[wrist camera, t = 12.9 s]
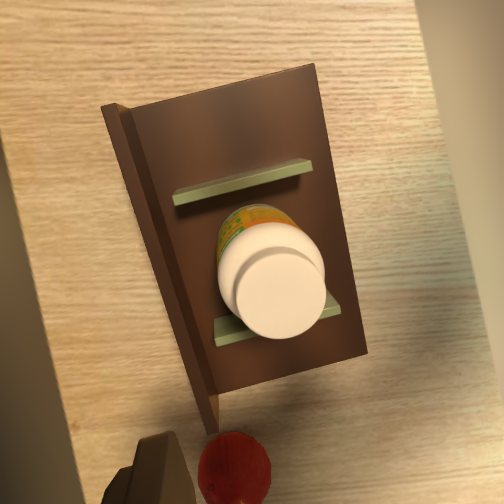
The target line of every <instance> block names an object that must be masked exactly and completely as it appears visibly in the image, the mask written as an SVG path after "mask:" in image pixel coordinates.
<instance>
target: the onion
mask: <svg viewBox="0 0 504 504" xmlns="http://www.w3.org/2000/svg"><path fill="white" fill-rule="evenodd" d="M270 484H271V463H270V460H269V457H268V455H267V453H266V451H265V448H264V447H263V446H262V445H261V444H260V443H259V442H258V441H256V440H255V439H254V438H253V437H251V436H249V435H246V434H243V433H236V432H229V433H226V434H222V435H219V436H218V437H216V438H215V439H214V440H212V441H211V442H210V443H209V444H208V446H207V447H206V448H205V450H204V452H203V454H202V455H201V457H200V461H199V465H198V485H199V488H200V490H201V493H202V495H203V497H204V499H205V501H206V503H207V504H261V503H262V502H263V500H264V498H265V496H266V494H267V492H268V490H269V488H270Z"/></svg>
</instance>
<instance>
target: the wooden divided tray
mask: <svg viewBox="0 0 504 504" xmlns="http://www.w3.org/2000/svg"><path fill="white" fill-rule="evenodd" d="M101 111H102V114H103V117H104V120H105V123H106V126H107V129H108V132H109V135H110V138H111V141H112V145H113V148H114V151H115V154H116V157H117V160H118V163H119V166H120V169H121V172H122V175H123V178H124V181H125V184H126V187H127V191H128V194H129V197H130V200H131V203H132V206H133V209H134V212H135V215H136V218H137V221H138V224H139V227H140V230H141V233H142V236H143V240H144V243H145V246H146V249H147V252H148V255H149V258H150V261H151V264H152V267H153V270H154V273H155V276H156V279H157V282H158V286H159V289H160V292H161V295H162V298H163V301H164V304H165V307H166V310H167V313H168V316H169V319H170V322H171V325H172V328H173V331H174V335H175V338H176V341H177V344H178V347H179V350H180V353H181V356H182V359H183V362H184V365H185V368H186V371H187V374H188V377H189V381H190V384H191V387H192V390H193V393H194V396H195V399H196V402H197V405H198V408H199V411H200V414H201V417H202V420H203V423H204V426H205V430H206V433H207V435H211V434H214V433H218V432H219V399H218V394H222V393H225V392H229V391H233V390H237V389H240V388H244V387H248V386H251V385H255V384H259V383H262V382H266V381H270V380H273V379H277V378H281V377H285V376H288V375H292V374H296V373H299V372H303V371H307V370H310V369H314V368H318V367H321V366H325V365H329V364H332V363H336V362H340V361H344V360H347V359H351V358H355V357H358V356H362V355H366V354H368V351H367V345H366V340H365V335H364V329H363V324H362V318H361V313H360V308H359V302H358V297H357V291H356V286H355V281H354V275H353V270H352V264H351V259H350V254H349V248H348V243H347V237H346V232H345V227H344V221H343V216H342V210H341V205H340V200H339V194H338V189H337V183H336V178H335V173H334V167H333V162H332V156H331V151H330V146H329V140H328V135H327V129H326V124H325V119H324V113H323V108H322V102H321V97H320V92H319V86H318V81H317V75H316V70H315V65H314V63H311V64H307V65H303V66H299V67H295V68H291V69H287V70H283V71H279V72H275V73H271V74H267V75H263V76H259V77H255V78H251V79H247V80H243V81H239V82H235V83H231V84H227V85H223V86H219V87H215V88H211V89H207V90H203V91H199V92H195V93H191V94H187V95H183V96H179V97H175V98H171V99H167V100H163V101H159V102H155V103H151V104H147V105H143V106H139V107H135V108H131V109H129V108H127V107H124V106H122V105H119V104H117V103H112V104H108V105H104V106H101ZM254 204H264V205H269V206H272V207H275V208H277V209H279V210H281V211H282V212H284V213H285V214H286V215H287V216H288V217H290V218H291V220H292V221H293V222H294V223H295V224H296V225H297V226H298V227H299V228H300V229H301V230H302V231H303V232H304V233H306V234H307V235H308V236H309V238H310V239H311V240H312V241H313V242H314V244H315V245H316V247H317V248H318V250H319V252H320V254H321V257H322V259H323V263H324V269H325V278H324V282H325V286H326V302H325V306H324V309H323V311H322V313H321V315H320V317H319V318H318V320H317V321H316V322H315V323H314V324H313V325H312V326H311V327H310V328H309V329H308V330H306V331H305V332H303V333H301V334H299V335H297V336H294V337H291V338H286V339H272V338H267V337H264V336H261V335H259V334H257V333H255V332H254V331H252V330H251V329H250V328H249V327H248V326H247V325H246V324H245V323H244V322H243V320H242V319H240V318H239V317H237V316H236V315H235V314H234V313H233V312H232V311H231V310H230V309H229V308H228V306H227V305H226V303H225V301H224V300H223V298H222V295H221V293H220V289H219V284H218V274H217V256H216V243H217V236H218V233H219V230H220V228H221V226H222V224H223V223H224V221H225V220H226V219H227V218H228V217H229V216H230V215H231V214H232V213H233V212H235V211H236V210H238V209H240V208H242V207H245V206H249V205H254Z"/></svg>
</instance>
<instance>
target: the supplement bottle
mask: <svg viewBox="0 0 504 504" xmlns="http://www.w3.org/2000/svg"><path fill="white" fill-rule="evenodd" d="M216 256H217V274H218V284H219V289H220V293H221V295H222V298H223V300H224V301H225V303H226V305H227V306H228V308H229V309H230V310H231V311H232V312H233V313H234V314H235V315H236V316H237V317H239V318H240V319H242V320H243V322H244V323H245V324H246V325H247V326H248V327H249V328H250V329H251V330H252V331H254V332H255V333H257V334H259V335H261V336H264V337H267V338H272V339H286V338H291V337H294V336H297V335H299V334H301V333H303V332H305V331H306V330H308V329H309V328H310V327H311V326H312V325H313V324H314V323H315V322H316V321H317V320H318V318H319V317H320V315H321V313H322V311H323V309H324V306H325V302H326V286H325V282H324V278H325V269H324V263H323V259H322V257H321V254H320V252H319V250H318V248H317V247H316V245H315V244H314V242H313V241H312V240H311V239H310V238H309V236H308V235H307V234H306V233H304V232H303V231H302V230H301V229H300V228H299V227H298V226H297V225H296V224H295V223H294V222H293V221H292V220H291V218H290V217H288V216H287V215H286V214H285V213H284V212H282V211H281V210H279V209H277V208H275V207H272V206H269V205H264V204H254V205H249V206H245V207H242V208H240V209H238V210H236V211H235V212H233V213H232V214H231V215H230V216H229V217H228V218H227V219H226V220H225V221H224V223H223V224H222V226H221V228H220V230H219V233H218V236H217V243H216Z"/></svg>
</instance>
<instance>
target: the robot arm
mask: <svg viewBox="0 0 504 504" xmlns="http://www.w3.org/2000/svg"><path fill="white" fill-rule="evenodd" d="M101 504H197V503H196V495H195V490H194V485H193V482H192V479H191V476H190V473H189V470H188V468H187V465H186V462H185V459H184V456H183V454H182V451H181V448H180V445H179V442H178V439H177V437H176V435H175V433H174V432H173V431H172V430H171V431H168V432H164V433H160V434H156V435H153V436H149V437H145V438H142V439H140V440H139V442H138V445H137V449H136V453H135V457H134V461H133V465H132V466H129V467H125V468H121V469H120V470H119V471H118V473H117V474H116V475H115V477H114V478H113V480H112V481H111V483H110V484H109V485H108V487H107V488H106V490H105V492H104V496H103V499H102V502H101Z"/></svg>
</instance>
